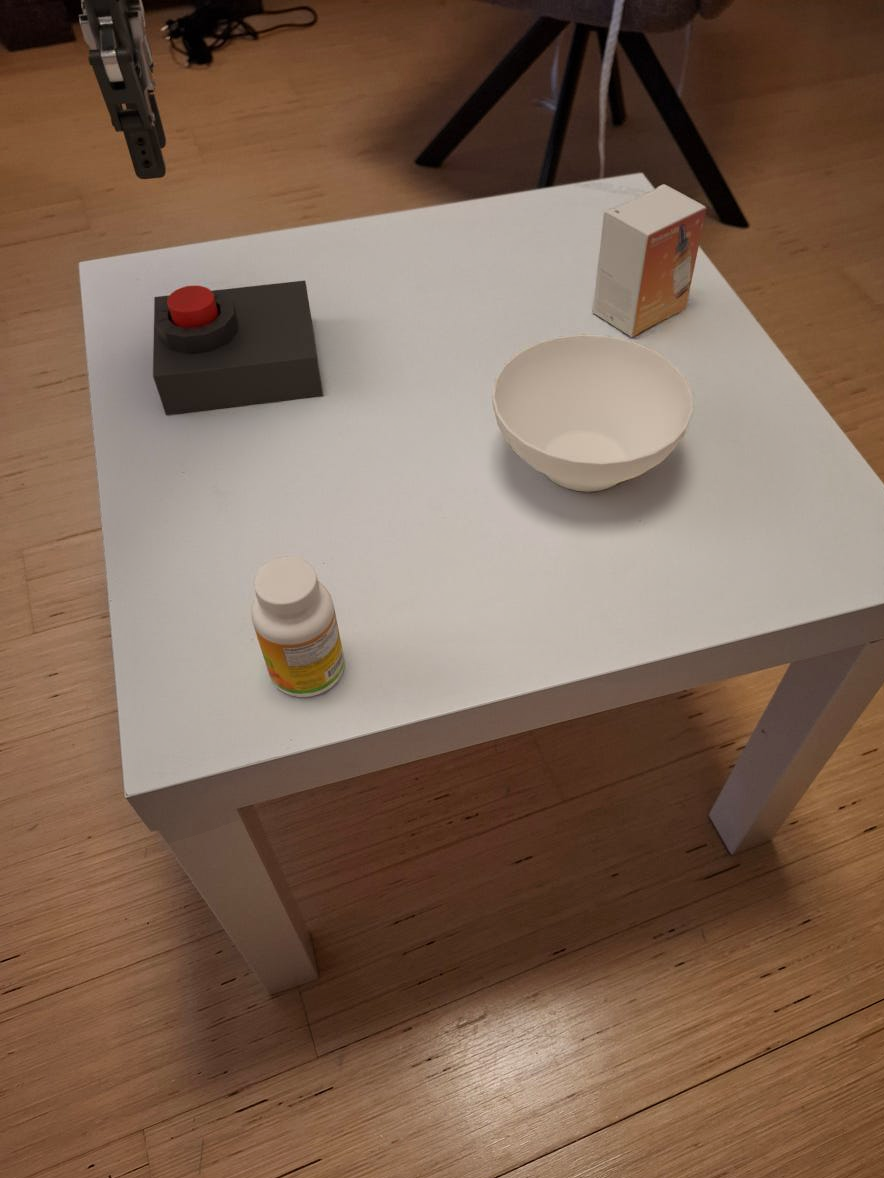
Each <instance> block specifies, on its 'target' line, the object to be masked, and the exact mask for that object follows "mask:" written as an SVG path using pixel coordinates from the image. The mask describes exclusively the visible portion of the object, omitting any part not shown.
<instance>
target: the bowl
mask: <svg viewBox="0 0 884 1178" xmlns="http://www.w3.org/2000/svg"><path fill="white" fill-rule="evenodd" d="M491 401H492V407H493V408H492V409H493V412H494V416H495V421H496V424H497V426H498V429H499V430H500V432H501V434H502V436H503V437H504V439H505V440H506V442H507V443H508V444H509V446H510V447H511V449H512V450H513V451H514V453H516V454H517V456H519V457H520V458H521V459H522V460H524V461H525V462H526V463H527V464H528V465H530V466H531V467H532V468H533V469H535V470H536V471H538V472H540V473H542V474H544V475H546V477H547V478H548V479H549V480H551V481H552V482H553V483H554V484H556V485H559V486H561V487H563V488H565V489H567V490H568V489H569V490H572V491H576V492H584V493H585V492H587V493H591V492H601V491H603V490H606V489H610V488H613V487H614V486H616V485H617V484H620V483H622V482H625V481H627V480H631V479H634V478H636V477H638V476H641V475H644V473H646V472H648V471H650V470H651V469H653V468H655V467H656V466H659V464H660V463H662V462H664V460H665V459H666V458H667V457H668V456H669V455H670V454H671V453H672V452H673V451H674V450H675V448H676V447H677V446H678V445H679V444H680V442H681V441H682V440H683V439H684V437H685V435H686V432H687V430H688V427H689V424H690V422H691V419H692V416H693V414H694V412H695V411H694V393H693V391H692V389H691V387H690V384H689V382H688V380H687V377H686V376H685V375H684V374H683V373H682V372H681V370H679V368H678V367H677V366H676V365H675V364H674V363H673V362H672V361H670V360H669V359H667V358H666V357H664V356H663V355H662V354H660V353H659V352H657V351H656V350H654V349H651V348H650V347H646V346H644V345H642V344H640V343H638V342H635V341H632V340H628V339H623V338H619V337H615V336H611V335H598V334H585V333H582V334H572V335H562V336H557V337H553V338H549V339H545V340H542V341H538V342H536V343H534V344H532V345H530V346H527V347H526V348H523V349H522V350H520V351H518V352H517V353H515V354H514V355H513V356H512V357H510V359H509V360H508V361H506V362H505V363H504V364H503V365H502V367H501V368H500V370H499V371H498V373H497V375H496V377H495V379H494V380H493V387H492V392H491Z"/></svg>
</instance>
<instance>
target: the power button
mask: <svg viewBox="0 0 884 1178" xmlns="http://www.w3.org/2000/svg"><path fill="white" fill-rule="evenodd" d="M212 291H213V290H211V289H209V288H208V287H206V286H202V285H186V286H183V287H180V288H177V289H175V290H174V291H172V292H171V293H170V294H169V295H170V296H169V297H168V300H167V304H168V307H169V310H170V314H171V317H172V320H173V322H174V323H175V324H176V325H177V326H179V327H184V328H194V327H202V326H204V325H206V324H209V323H211V322H213V321H214V320H215V319H216V318H217V316H218V310H217V306H216V302H215V298H214V294H213V293H212Z"/></svg>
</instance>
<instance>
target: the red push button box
mask: <svg viewBox="0 0 884 1178" xmlns="http://www.w3.org/2000/svg"><path fill="white" fill-rule="evenodd" d="M211 291H212V293H213V294H214V298H215V302H216V306H217V310H218V316H217V318H216V319H215V320H214V321H213V322H211V323H209V324H206V325H204V326H202V327H194V328H184V327H179V326H177V325H176V324H175V323H174V322H173V320H172V317H171V314H170V310H169V307H168V304H167V300H168V297H169V296H170V294H168V295H167V294H166V295H159V296H154V300H153V308H154V309H153V348H152V349H153V354H152V358H153V360H152V363H153V364H152V378H153V381H154V385H155V387H156V390H157V393H158V395H159V399H160V402H161V404H162V408H163V410H164V414H165V415H166V416H171V415H178V414H179V415H180V414H187V413H194V412H201V411H202V412H203V411H211V410H218V409H226V408H234V407H241V406H242V407H243V406H251V405H258V404H259V405H260V404H267V403H274V402H275V403H277V402H282V401H283V402H284V401H291V400H299V399H306V398H307V399H308V398H314V397H323V396H324V391H323V385H322V379H321V377H322V376H321V371H320V366H319V365H320V364H319V359H318V352H317V345H316V338H315V332H314V325H313V318H312V312H311V307H310V301H309V293H308V289H307V281H306V279H305V280H297V281H296V280H295V281H287V282H278V283H269V284H268V283H267V284H260V285H258V284H257V285H251V286H250V285H249V286H241V287H232V288H231V287H230V288H223V289H213V290H211Z"/></svg>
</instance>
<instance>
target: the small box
mask: <svg viewBox="0 0 884 1178" xmlns="http://www.w3.org/2000/svg"><path fill="white" fill-rule="evenodd" d="M706 214H707V207H706V206H705V205H704V204H702V203H700V202H698V201H696V200H695V199H692V198H691V197H689V196H688V195H685V194H684V193H681V192H680V191H678V190H676V189H674V188H672V187H671V186H669V185H667V184H663V183H662V184H661V185H658V186H657V187H656V188H654V189H652V190H650V191H647V192H646V193H643V194H641V195H639V196H637V197H634V198H633V199H630V200H628V201H626V202H624V203H622V204H619V205H616V206H615V207H612V208H609V209H606V210H604V211H603V219H602V225H601V226H602V227H601V234H600V235H601V236H600V245H599V253H598V263H597V270H596V271H597V272H596V277H595V279H596V280H595V288H594V296H593V305H592V313H593V314H595V315H596V316H598V317H599V318H601V319H602V320H604V321H605V322H607V323H609V324H610V325H612V326H613V327H615V328H617V329H618V330H619V331H621V332H623V333H625V334H626V335H627V336H629V337H630V338H633V337H635V336H637V335H638V334H640V333H642V332H643V331H645V330H647V329H649V328H650V327H652V326H654V325H656V324H658V323H660V322H662V321H664V320H666V319H668V318H670V317H671V316H674V315H676V314H677V313H680V312H682V311H684V310H685V309H686V308H687V305H688V301H689V297H690V291H691V287H692V281H693V278H694V277H693V276H694V271H695V267H696V261H697V256H698V252H699V248H700V243H701V242H700V241H701V237H702V233H703V229H704V223H705V218H706Z"/></svg>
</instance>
